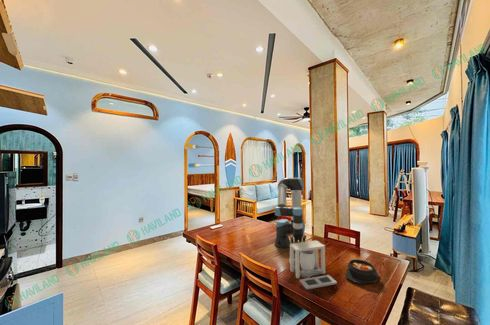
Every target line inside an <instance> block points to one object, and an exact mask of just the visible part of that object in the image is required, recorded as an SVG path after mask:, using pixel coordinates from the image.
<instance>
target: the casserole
mask: <svg viewBox="0 0 490 325" xmlns="http://www.w3.org/2000/svg"><path fill="white" fill-rule="evenodd" d="M346 265H347V268H346V270H345V271H346V272H345V273H344V276H345V278H347V279H348V280H350V281H352V282H353V283H355V284H356V283H357V284H360V285H365V284H370V283H371V284H372V283H376V282H378V281H379V273H378V271H377V269H376V267H375V266H374V265H373V264H372V263H370V262H369V261H365V260H361V259H350V260H349V261H348V262H347V264H346Z"/></svg>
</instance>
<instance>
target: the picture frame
mask: <svg viewBox="0 0 490 325" xmlns="http://www.w3.org/2000/svg"><path fill="white" fill-rule="evenodd" d="M297 243H300V242H299V241H298V242H297ZM288 263H289V264H290V259H288ZM299 263H300V252H299ZM294 270H295V258H294ZM318 275H324V274H323V269H321V267H318V266H317V265H315V266H314V270H311V271H305V272H302V271H301V270H300V277H302V278H306V277H311V276H318Z"/></svg>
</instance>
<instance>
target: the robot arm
mask: <svg viewBox="0 0 490 325" xmlns="http://www.w3.org/2000/svg"><path fill="white" fill-rule="evenodd" d="M304 189H305V188H304V181H303V179H302V177H285V178H282V179H281V180H280V181H279V182H278V184H277V190H278V194H277V195H278V196H277V206H275V207H274V215H275V216H276V217H290V218H291V219H290V221H289V220H288V219H286V218H283V219H282V218H281V219H277V220H276V222H275V231H276V232H275V233H276V234H275V239H274V244H273V245H274V246H275V247H276V248H281V249H286V248H290V244H292V243H297V242H306V241H307V240H306V238H307V236H306V235H305V229H306V228H305V227H306V221H304V217H303V216H304V212H303V208H302V194H301V193H303V190H304ZM288 190H289V192H291V206H287V191H288ZM289 235H291V236H289ZM294 255H295V250H294Z"/></svg>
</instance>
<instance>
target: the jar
mask: <svg viewBox="0 0 490 325" xmlns="http://www.w3.org/2000/svg"><path fill="white" fill-rule="evenodd" d="M314 254H315V251H314V250H307V251H300V262H299V265H300V268H301V270H300V271H301V272H305V271H311V270H315V268H314V266H315V256H314Z"/></svg>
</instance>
